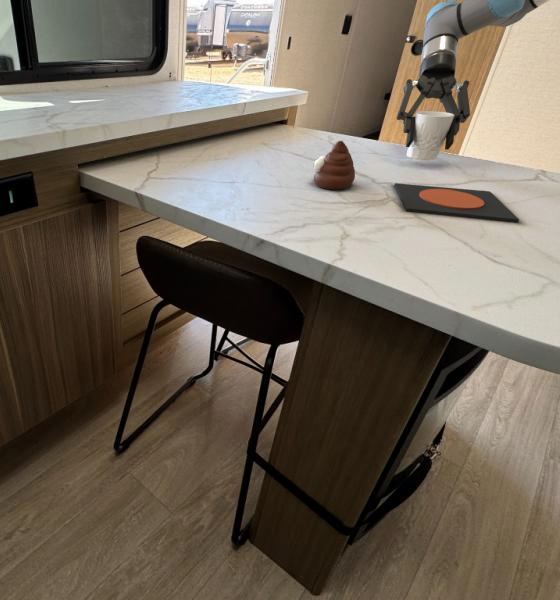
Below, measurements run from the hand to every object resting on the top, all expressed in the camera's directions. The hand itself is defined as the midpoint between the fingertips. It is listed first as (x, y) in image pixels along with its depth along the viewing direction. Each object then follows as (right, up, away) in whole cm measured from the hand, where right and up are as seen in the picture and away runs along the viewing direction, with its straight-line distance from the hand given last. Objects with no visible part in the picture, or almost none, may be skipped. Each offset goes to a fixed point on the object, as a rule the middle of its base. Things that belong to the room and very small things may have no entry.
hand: (429, 144), depth 99 cm
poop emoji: (-26, -11, -7) cm, 29 cm away
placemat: (-7, -18, -17) cm, 25 cm away
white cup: (+1, -1, +5) cm, 5 cm away
